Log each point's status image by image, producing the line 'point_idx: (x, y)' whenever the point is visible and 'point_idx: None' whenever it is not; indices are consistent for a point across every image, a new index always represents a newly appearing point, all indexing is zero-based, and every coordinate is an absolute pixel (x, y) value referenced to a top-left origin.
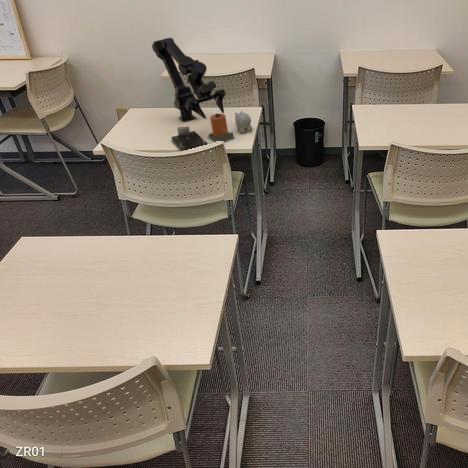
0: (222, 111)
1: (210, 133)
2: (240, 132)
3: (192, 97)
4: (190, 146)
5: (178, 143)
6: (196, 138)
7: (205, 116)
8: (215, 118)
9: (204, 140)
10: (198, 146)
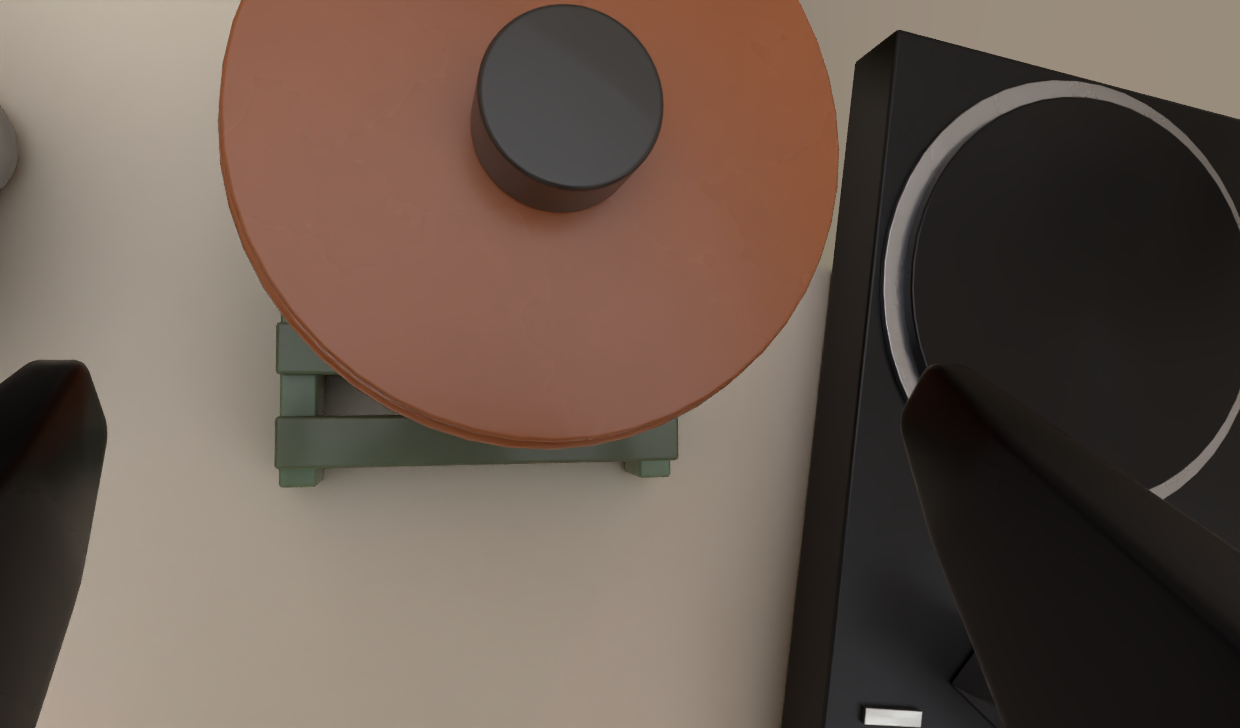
0: (72, 436)
1: (631, 456)
2: (13, 131)
3: None
4: (1178, 165)
5: (1235, 475)
6: None
7: (968, 388)
8: (720, 32)
9: (876, 241)
10: (1068, 86)
